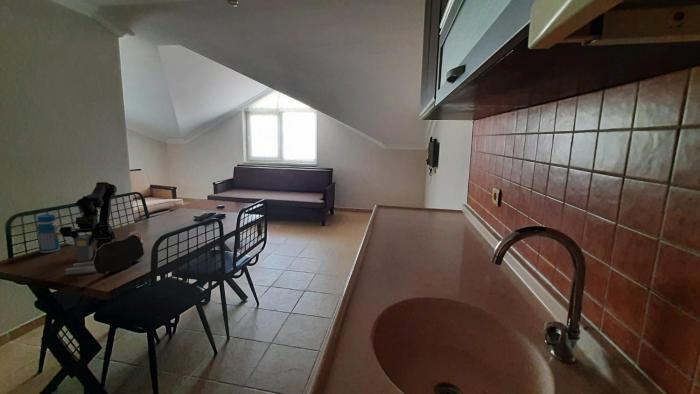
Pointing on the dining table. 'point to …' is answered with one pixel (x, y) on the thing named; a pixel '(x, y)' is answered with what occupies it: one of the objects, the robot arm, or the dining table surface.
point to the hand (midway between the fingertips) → (82, 246)
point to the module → (83, 247)
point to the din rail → (81, 269)
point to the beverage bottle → (48, 234)
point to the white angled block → (71, 240)
